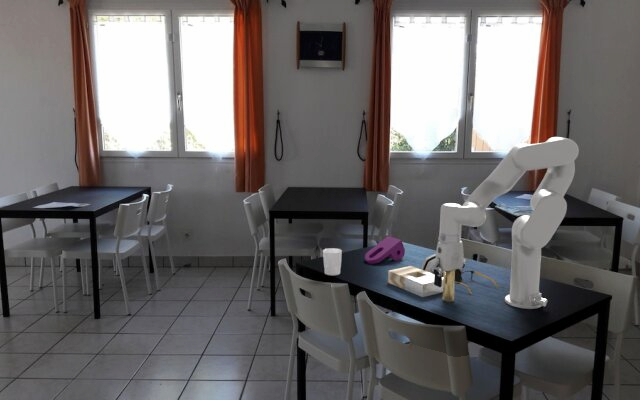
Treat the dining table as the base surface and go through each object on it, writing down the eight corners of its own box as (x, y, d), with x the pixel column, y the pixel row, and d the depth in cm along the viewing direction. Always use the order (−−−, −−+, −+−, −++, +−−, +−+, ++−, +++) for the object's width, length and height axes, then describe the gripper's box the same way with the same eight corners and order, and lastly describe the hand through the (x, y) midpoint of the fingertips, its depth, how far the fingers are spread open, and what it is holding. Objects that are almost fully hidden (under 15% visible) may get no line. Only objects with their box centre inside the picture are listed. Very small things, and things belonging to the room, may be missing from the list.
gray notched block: (446, 291, 199) (446, 278, 198) (422, 297, 193) (423, 284, 192) (427, 284, 207) (428, 271, 206) (404, 289, 201) (404, 277, 200)
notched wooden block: (427, 284, 207) (428, 271, 206) (404, 289, 201) (404, 277, 200) (410, 277, 216) (411, 265, 215) (388, 282, 209) (388, 270, 209)
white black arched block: (444, 267, 229) (451, 248, 225) (452, 273, 226) (458, 254, 221) (416, 273, 220) (422, 254, 216) (423, 280, 217) (429, 260, 213)
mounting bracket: (380, 277, 236) (406, 254, 243) (373, 262, 233) (401, 240, 240) (366, 271, 244) (393, 250, 251) (360, 257, 240) (387, 236, 248)
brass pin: (456, 300, 189) (457, 268, 187) (448, 302, 187) (449, 270, 185) (448, 297, 193) (449, 265, 191) (440, 299, 191) (441, 267, 189)
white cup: (344, 274, 220) (344, 251, 218) (327, 277, 217) (327, 253, 216) (337, 269, 227) (337, 247, 226) (320, 271, 225) (320, 249, 223)
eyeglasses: (471, 279, 215) (471, 269, 214) (498, 289, 202) (499, 279, 201) (444, 284, 208) (445, 275, 207) (471, 295, 195) (472, 285, 195)
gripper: (439, 243, 178) (437, 291, 181) (474, 237, 187) (472, 282, 190) (424, 238, 185) (422, 284, 188) (459, 233, 194) (456, 277, 197)
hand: (447, 283), depth 189 cm, fingers open, 9 cm apart
